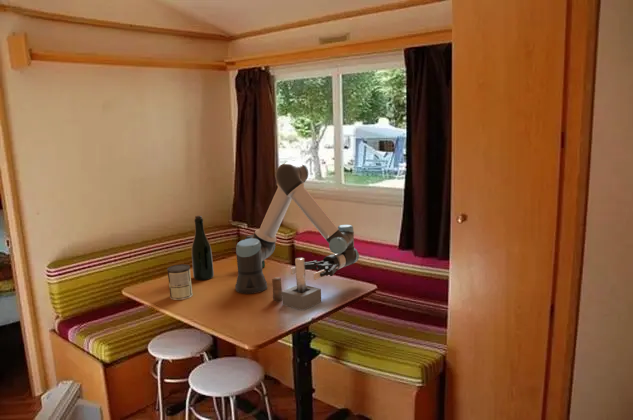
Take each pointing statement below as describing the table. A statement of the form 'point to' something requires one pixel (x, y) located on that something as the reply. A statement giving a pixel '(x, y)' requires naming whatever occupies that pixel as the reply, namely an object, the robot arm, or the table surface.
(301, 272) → the long steel pin
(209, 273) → the beer bottle
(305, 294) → the hole block
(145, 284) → the table surface
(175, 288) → the coffee can
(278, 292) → the short walnut pin
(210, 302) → the table surface
